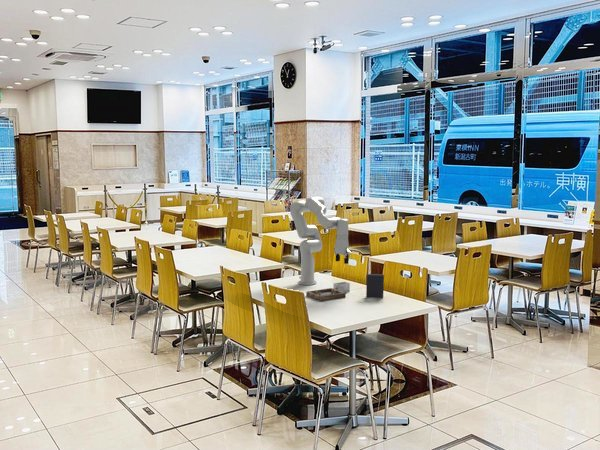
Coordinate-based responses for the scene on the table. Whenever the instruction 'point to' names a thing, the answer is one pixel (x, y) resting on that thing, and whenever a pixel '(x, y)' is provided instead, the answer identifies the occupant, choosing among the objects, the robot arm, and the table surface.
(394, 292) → the table surface
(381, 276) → the calculator
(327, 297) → the tray
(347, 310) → the table surface
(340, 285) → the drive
